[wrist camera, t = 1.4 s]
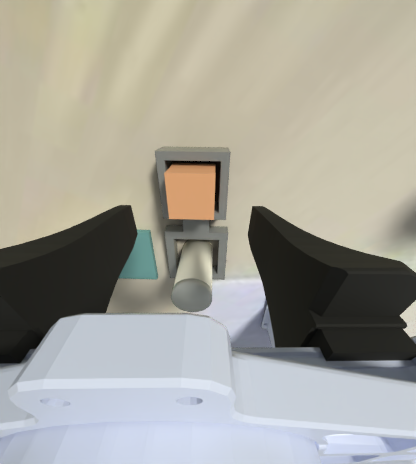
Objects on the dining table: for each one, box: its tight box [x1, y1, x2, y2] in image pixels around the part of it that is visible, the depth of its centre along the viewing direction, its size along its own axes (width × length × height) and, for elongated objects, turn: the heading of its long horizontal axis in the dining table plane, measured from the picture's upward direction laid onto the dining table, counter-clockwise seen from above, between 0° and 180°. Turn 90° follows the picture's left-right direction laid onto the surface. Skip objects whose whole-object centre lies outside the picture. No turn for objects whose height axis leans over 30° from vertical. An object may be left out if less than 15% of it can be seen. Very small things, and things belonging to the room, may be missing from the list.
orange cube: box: [164, 163, 215, 220], centre depth 17 cm, size 4×4×4 cm
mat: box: [119, 230, 158, 279], centre depth 26 cm, size 8×8×1 cm
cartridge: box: [171, 239, 212, 312], centre depth 22 cm, size 4×4×8 cm
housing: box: [155, 147, 230, 280], centre depth 22 cm, size 16×8×3 cm, turn 179°
